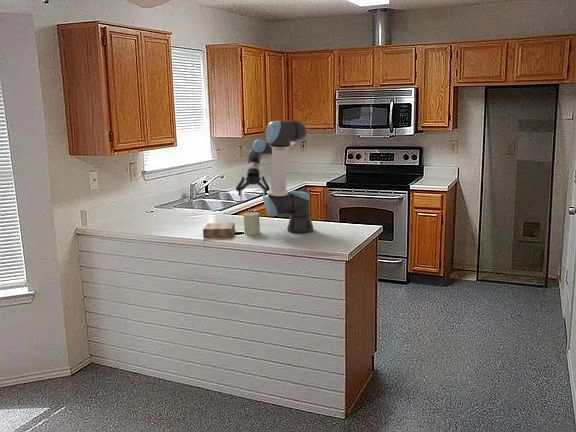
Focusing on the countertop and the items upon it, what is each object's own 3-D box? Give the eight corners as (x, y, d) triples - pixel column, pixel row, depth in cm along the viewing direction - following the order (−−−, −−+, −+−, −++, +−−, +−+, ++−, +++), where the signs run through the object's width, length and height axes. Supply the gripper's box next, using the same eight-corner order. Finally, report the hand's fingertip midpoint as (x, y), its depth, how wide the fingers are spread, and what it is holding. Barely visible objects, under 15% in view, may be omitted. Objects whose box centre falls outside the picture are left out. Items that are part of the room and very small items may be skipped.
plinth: (234, 230, 334) (234, 222, 333) (231, 237, 318) (231, 228, 317) (208, 231, 334) (207, 223, 333) (203, 237, 318) (202, 229, 317)
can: (251, 230, 333) (251, 210, 330) (263, 232, 327) (262, 212, 325) (241, 233, 326) (240, 213, 323) (252, 235, 320) (251, 215, 318)
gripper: (274, 174, 348) (273, 203, 337) (234, 175, 349) (232, 203, 337) (273, 167, 342) (272, 195, 330) (232, 168, 343) (230, 196, 331)
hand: (252, 199), depth 334 cm, fingers open, 13 cm apart
